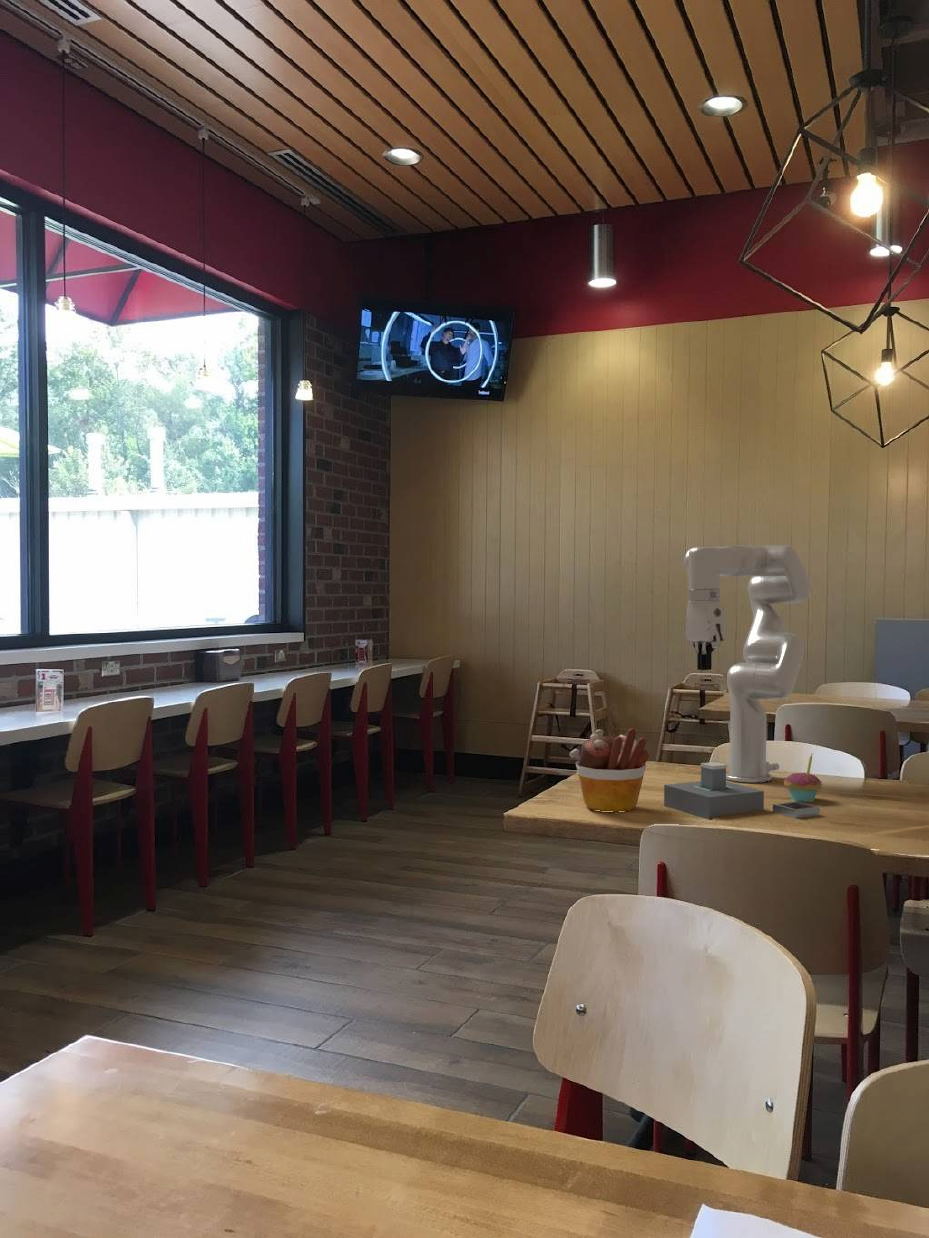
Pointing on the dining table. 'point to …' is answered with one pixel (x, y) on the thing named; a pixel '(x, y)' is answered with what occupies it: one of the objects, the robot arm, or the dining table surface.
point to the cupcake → (803, 785)
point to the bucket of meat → (611, 770)
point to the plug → (713, 776)
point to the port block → (712, 799)
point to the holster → (796, 809)
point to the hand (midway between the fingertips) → (704, 669)
